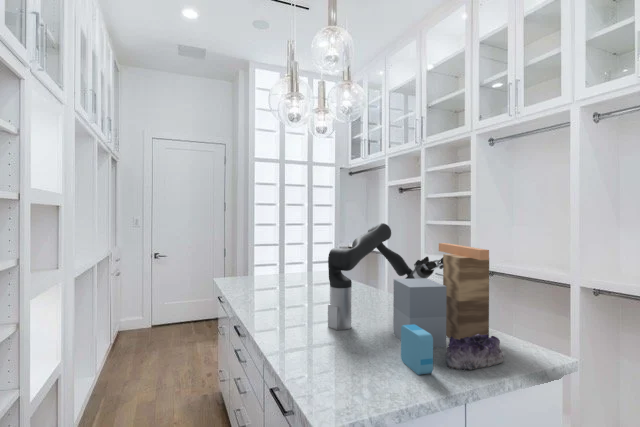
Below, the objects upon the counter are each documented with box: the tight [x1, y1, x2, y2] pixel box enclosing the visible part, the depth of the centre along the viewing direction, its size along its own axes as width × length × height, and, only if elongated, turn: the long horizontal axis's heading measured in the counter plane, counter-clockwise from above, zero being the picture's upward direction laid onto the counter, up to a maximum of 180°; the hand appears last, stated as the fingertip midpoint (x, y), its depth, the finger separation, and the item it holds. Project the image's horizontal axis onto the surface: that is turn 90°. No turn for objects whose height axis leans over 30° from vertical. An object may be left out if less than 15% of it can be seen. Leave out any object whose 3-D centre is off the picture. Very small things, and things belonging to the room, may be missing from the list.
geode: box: [445, 334, 504, 372], centre depth 114 cm, size 20×12×10 cm, turn 116°
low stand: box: [392, 278, 447, 349], centre depth 134 cm, size 16×14×22 cm
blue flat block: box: [400, 324, 434, 376], centre depth 110 cm, size 12×4×12 cm, turn 14°
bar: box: [438, 242, 490, 261], centre depth 140 cm, size 30×4×4 cm, turn 9°
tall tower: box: [442, 253, 490, 340], centre depth 137 cm, size 12×12×32 cm
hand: (436, 258), depth 159 cm, fingers open, 8 cm apart
